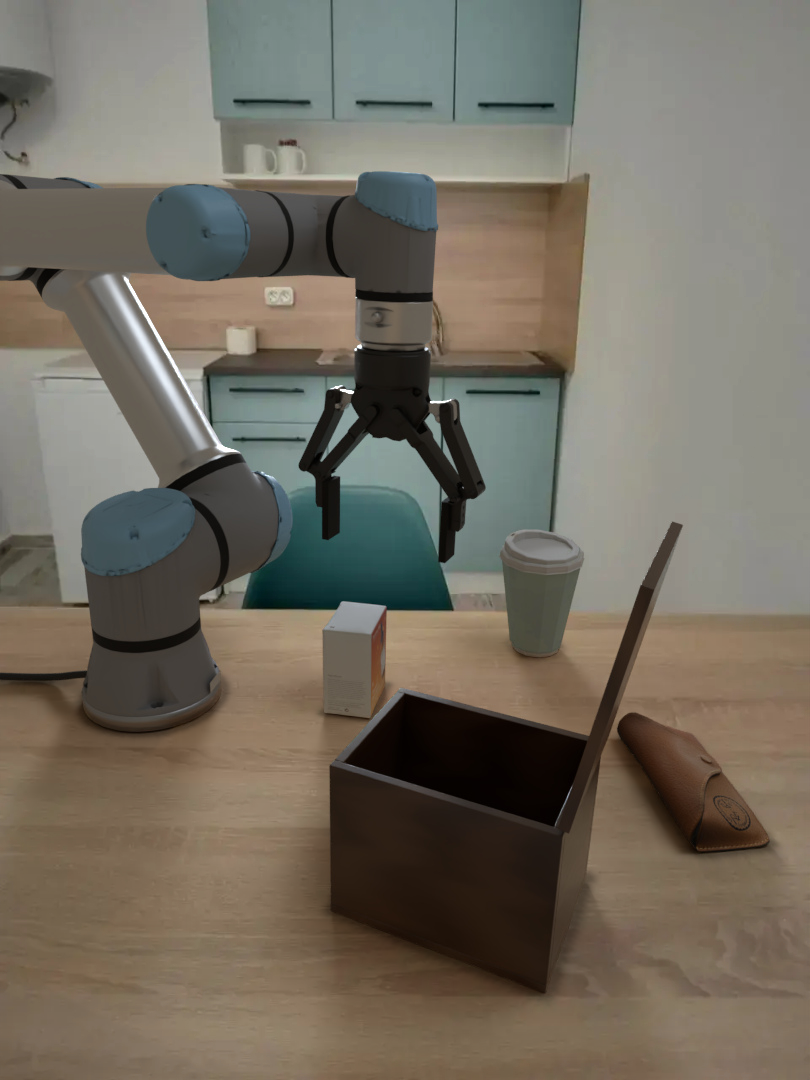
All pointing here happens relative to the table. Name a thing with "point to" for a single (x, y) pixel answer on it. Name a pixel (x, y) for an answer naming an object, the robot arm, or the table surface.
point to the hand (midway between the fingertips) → (387, 547)
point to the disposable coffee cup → (539, 588)
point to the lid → (620, 673)
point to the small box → (354, 659)
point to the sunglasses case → (692, 786)
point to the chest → (461, 833)
